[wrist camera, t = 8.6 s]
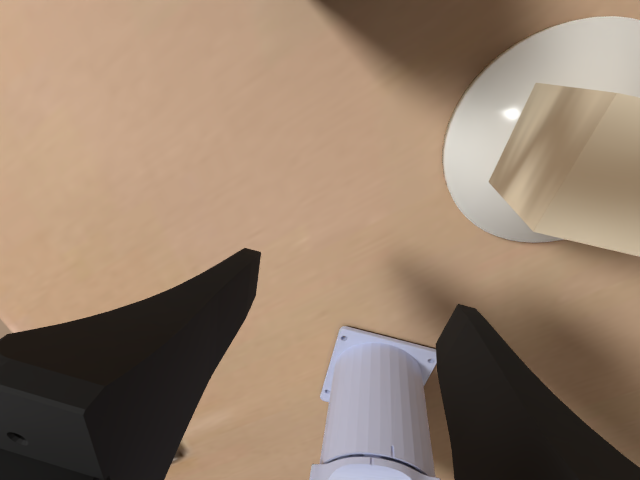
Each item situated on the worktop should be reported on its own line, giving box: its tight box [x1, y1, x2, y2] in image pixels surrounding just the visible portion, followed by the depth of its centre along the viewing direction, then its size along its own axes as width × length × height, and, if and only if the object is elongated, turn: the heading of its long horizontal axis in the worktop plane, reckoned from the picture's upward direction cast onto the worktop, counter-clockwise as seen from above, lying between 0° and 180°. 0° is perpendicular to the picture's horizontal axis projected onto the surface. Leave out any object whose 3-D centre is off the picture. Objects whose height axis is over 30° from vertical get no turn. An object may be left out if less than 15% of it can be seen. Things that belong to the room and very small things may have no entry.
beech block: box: [489, 83, 640, 257], centre depth 14 cm, size 5×5×6 cm
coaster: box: [442, 16, 640, 243], centre depth 16 cm, size 11×11×1 cm
